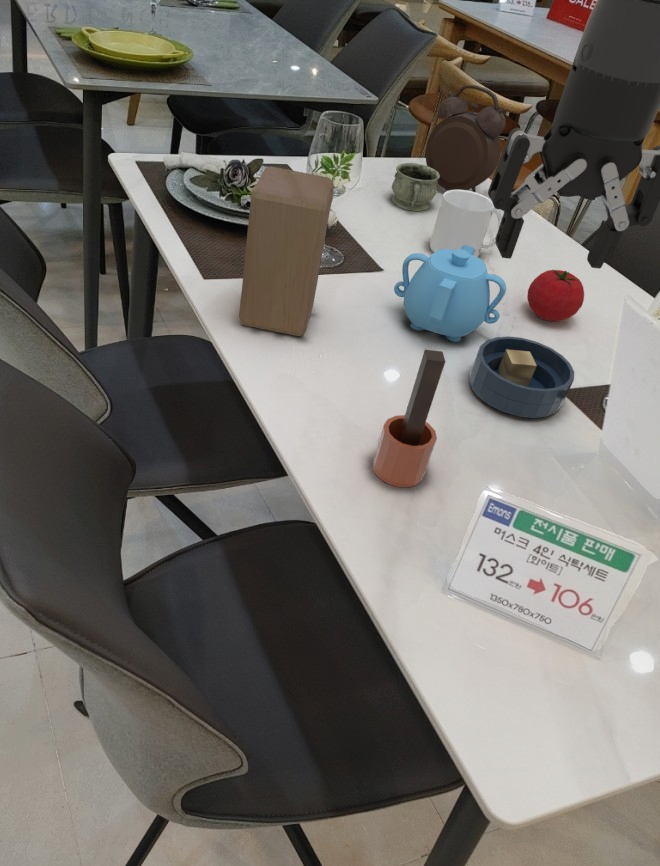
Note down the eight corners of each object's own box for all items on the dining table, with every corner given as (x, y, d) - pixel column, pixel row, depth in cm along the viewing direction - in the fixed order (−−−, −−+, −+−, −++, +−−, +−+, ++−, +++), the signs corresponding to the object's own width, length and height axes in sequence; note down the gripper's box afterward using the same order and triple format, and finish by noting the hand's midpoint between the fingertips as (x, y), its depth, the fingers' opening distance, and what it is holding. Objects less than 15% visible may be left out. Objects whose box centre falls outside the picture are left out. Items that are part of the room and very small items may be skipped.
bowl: (547, 371, 114) (559, 341, 110) (571, 425, 104) (586, 395, 101) (460, 361, 113) (471, 331, 109) (477, 416, 103) (489, 385, 100)
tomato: (572, 335, 122) (593, 290, 117) (518, 320, 124) (536, 275, 118) (574, 311, 129) (594, 266, 123) (523, 297, 130) (540, 252, 124)
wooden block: (313, 307, 119) (336, 176, 105) (303, 340, 111) (327, 204, 98) (250, 294, 119) (264, 162, 105) (236, 326, 112) (250, 189, 98)
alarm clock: (490, 200, 160) (523, 95, 146) (473, 208, 155) (506, 101, 141) (431, 176, 165) (458, 73, 152) (413, 183, 161) (439, 78, 147)
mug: (427, 256, 137) (442, 205, 130) (430, 236, 143) (444, 185, 137) (494, 270, 136) (512, 219, 129) (493, 249, 142) (510, 199, 136)
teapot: (480, 368, 112) (507, 295, 104) (372, 335, 115) (390, 261, 107) (501, 309, 126) (527, 240, 117) (405, 281, 129) (423, 212, 120)
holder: (419, 455, 95) (432, 417, 91) (426, 490, 91) (440, 451, 87) (370, 451, 95) (381, 412, 91) (375, 485, 90) (386, 446, 86)
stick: (406, 463, 93) (442, 351, 82) (408, 474, 92) (445, 361, 81) (390, 462, 93) (424, 349, 82) (392, 472, 92) (427, 359, 81)
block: (521, 372, 111) (530, 351, 109) (527, 387, 109) (536, 365, 106) (497, 370, 111) (505, 349, 108) (503, 384, 108) (512, 363, 106)
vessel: (389, 188, 157) (396, 156, 153) (431, 195, 157) (439, 164, 153) (388, 211, 149) (395, 178, 144) (433, 219, 149) (442, 186, 144)
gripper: (692, 62, 63) (609, 250, 74) (524, 39, 62) (466, 233, 73) (731, 89, 57) (635, 287, 69) (548, 64, 56) (481, 270, 68)
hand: (548, 259), depth 71 cm, fingers open, 8 cm apart
